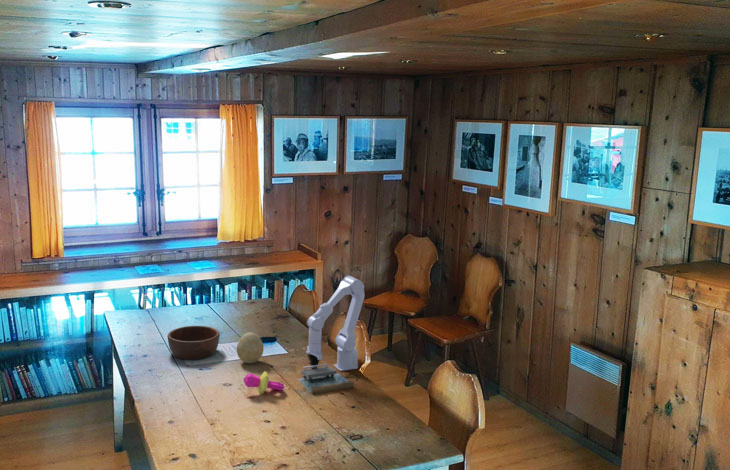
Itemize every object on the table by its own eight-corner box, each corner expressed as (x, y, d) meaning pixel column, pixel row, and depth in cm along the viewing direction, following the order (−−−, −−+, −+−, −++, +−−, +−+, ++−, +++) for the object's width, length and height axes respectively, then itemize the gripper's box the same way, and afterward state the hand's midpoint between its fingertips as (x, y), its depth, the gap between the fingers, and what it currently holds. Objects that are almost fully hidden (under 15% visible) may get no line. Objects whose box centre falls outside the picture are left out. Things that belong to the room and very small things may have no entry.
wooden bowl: (157, 357, 330) (156, 336, 328) (188, 341, 353) (188, 322, 351) (200, 365, 321) (199, 345, 319) (229, 349, 344) (229, 330, 342)
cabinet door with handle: (329, 372, 319) (328, 362, 319) (336, 376, 311) (336, 367, 311) (301, 376, 313) (300, 366, 313) (308, 381, 305) (308, 371, 305)
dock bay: (336, 373, 319) (336, 367, 318) (353, 388, 302) (353, 382, 302) (296, 379, 310) (296, 373, 309) (311, 395, 294) (311, 388, 293)
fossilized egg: (234, 359, 330) (234, 329, 327) (259, 356, 335) (259, 327, 332) (239, 368, 319) (240, 338, 316) (266, 365, 324) (266, 335, 321)
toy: (283, 399, 290) (288, 375, 293) (243, 391, 284) (248, 366, 287) (277, 399, 299) (282, 375, 302) (238, 391, 293) (243, 367, 296)
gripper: (301, 337, 319) (300, 365, 322) (312, 347, 306) (311, 376, 309) (315, 335, 322) (314, 363, 325) (326, 345, 310) (326, 374, 312)
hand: (314, 369), depth 317 cm, fingers closed
